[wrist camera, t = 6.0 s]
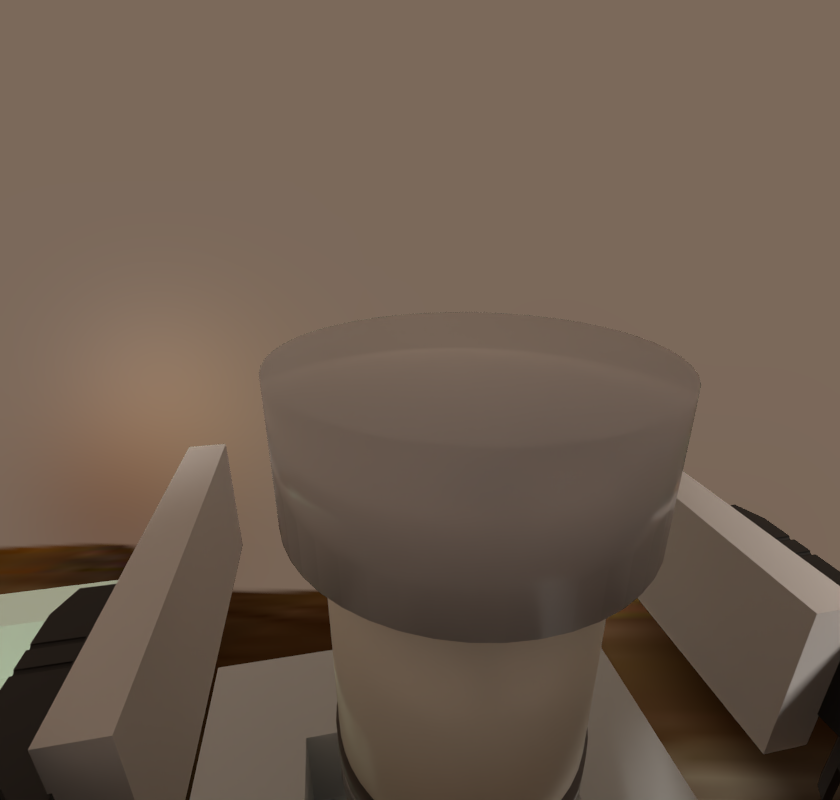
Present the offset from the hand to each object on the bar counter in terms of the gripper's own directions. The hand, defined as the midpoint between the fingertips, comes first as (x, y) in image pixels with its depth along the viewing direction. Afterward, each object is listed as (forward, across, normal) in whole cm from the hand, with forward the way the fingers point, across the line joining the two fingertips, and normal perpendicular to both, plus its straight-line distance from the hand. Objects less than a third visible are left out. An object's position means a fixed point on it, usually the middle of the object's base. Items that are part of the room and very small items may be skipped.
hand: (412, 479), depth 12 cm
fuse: (-5, 0, -8) cm, 10 cm away
